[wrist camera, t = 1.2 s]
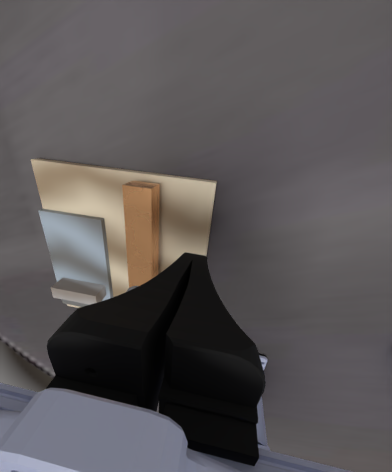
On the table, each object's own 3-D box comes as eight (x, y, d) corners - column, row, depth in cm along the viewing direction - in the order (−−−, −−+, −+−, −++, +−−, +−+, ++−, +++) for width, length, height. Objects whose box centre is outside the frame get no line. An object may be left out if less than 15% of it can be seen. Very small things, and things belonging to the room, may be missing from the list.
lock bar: (161, 299, 23) (155, 312, 21) (134, 294, 23) (126, 306, 22) (164, 184, 17) (156, 189, 16) (128, 179, 18) (117, 184, 16)
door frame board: (196, 325, 27) (192, 349, 24) (72, 300, 29) (53, 319, 25) (216, 180, 18) (214, 189, 15) (39, 158, 20) (4, 161, 17)
